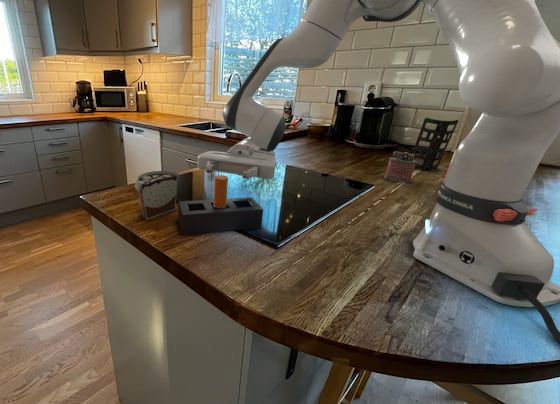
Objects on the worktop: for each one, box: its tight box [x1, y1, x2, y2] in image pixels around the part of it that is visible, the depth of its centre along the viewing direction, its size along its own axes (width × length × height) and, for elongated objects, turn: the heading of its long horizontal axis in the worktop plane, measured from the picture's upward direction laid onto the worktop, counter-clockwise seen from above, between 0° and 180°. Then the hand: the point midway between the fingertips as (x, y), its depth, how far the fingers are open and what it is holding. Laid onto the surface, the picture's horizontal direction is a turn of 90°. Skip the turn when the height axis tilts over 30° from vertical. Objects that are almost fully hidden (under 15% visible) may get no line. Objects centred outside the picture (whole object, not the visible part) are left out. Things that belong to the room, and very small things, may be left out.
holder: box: [411, 117, 459, 172], centre depth 116 cm, size 11×8×20 cm
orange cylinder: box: [213, 174, 229, 209], centre depth 70 cm, size 3×3×12 cm
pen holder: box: [177, 196, 264, 236], centre depth 71 cm, size 8×19×5 cm, turn 101°
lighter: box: [383, 151, 418, 184], centre depth 104 cm, size 8×3×10 cm, turn 58°
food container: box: [134, 170, 180, 221], centre depth 76 cm, size 12×6×10 cm, turn 134°
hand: (226, 172), depth 71 cm, fingers open, 8 cm apart
